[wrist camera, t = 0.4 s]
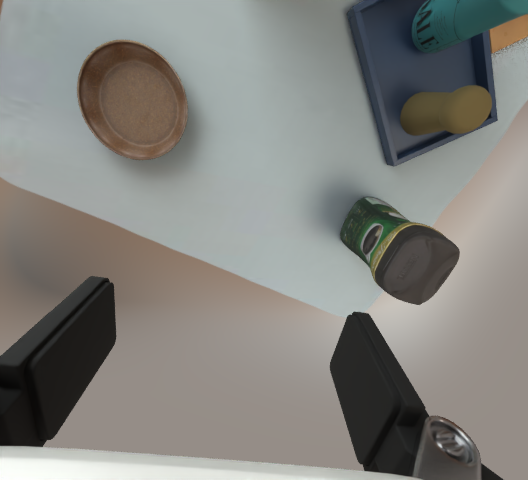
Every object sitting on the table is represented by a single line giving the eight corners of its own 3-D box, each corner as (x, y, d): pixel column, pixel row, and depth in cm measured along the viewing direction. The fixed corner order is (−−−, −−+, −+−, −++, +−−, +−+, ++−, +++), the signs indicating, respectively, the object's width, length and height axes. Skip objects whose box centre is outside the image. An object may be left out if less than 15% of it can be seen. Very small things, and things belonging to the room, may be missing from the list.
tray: (346, 14, 35) (352, 6, 33) (464, -50, 33) (479, -63, 31) (387, 164, 43) (394, 166, 41) (484, 121, 41) (497, 120, 39)
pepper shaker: (426, 81, 38) (487, 64, 28) (447, 114, 40) (512, 109, 30) (392, 114, 40) (438, 109, 30) (414, 144, 42) (464, 149, 32)
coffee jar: (370, 253, 49) (431, 318, 32) (332, 239, 48) (375, 300, 31) (398, 205, 46) (482, 250, 29) (358, 190, 45) (421, 227, 28)
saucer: (145, 20, 35) (136, 11, 33) (211, 123, 40) (208, 122, 38) (65, 87, 38) (52, 84, 35) (137, 176, 43) (130, 179, 40)
